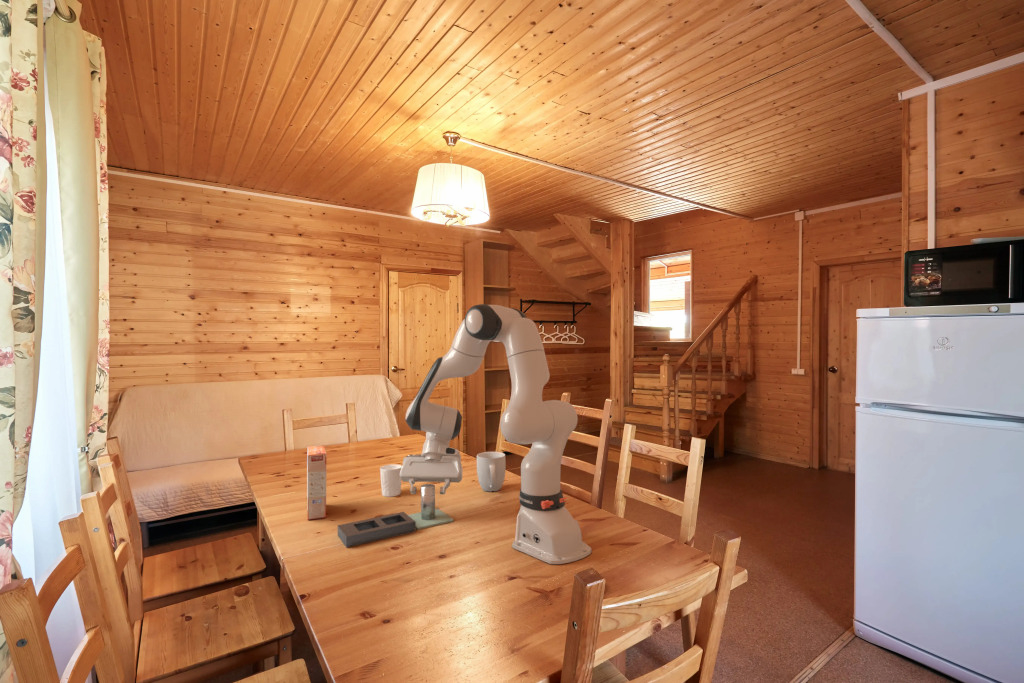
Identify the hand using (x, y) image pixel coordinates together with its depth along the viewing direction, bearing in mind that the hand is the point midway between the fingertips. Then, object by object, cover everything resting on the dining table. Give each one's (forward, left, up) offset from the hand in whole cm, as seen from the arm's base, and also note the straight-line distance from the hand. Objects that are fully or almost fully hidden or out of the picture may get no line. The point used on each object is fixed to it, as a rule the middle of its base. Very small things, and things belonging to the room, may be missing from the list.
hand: (427, 493), depth 154 cm
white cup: (+32, +1, -9) cm, 34 cm away
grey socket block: (-2, +17, -9) cm, 19 cm away
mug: (+15, -32, -9) cm, 37 cm away
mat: (0, 0, -8) cm, 9 cm away
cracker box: (+27, +28, -9) cm, 40 cm away
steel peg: (0, 0, -8) cm, 8 cm away
